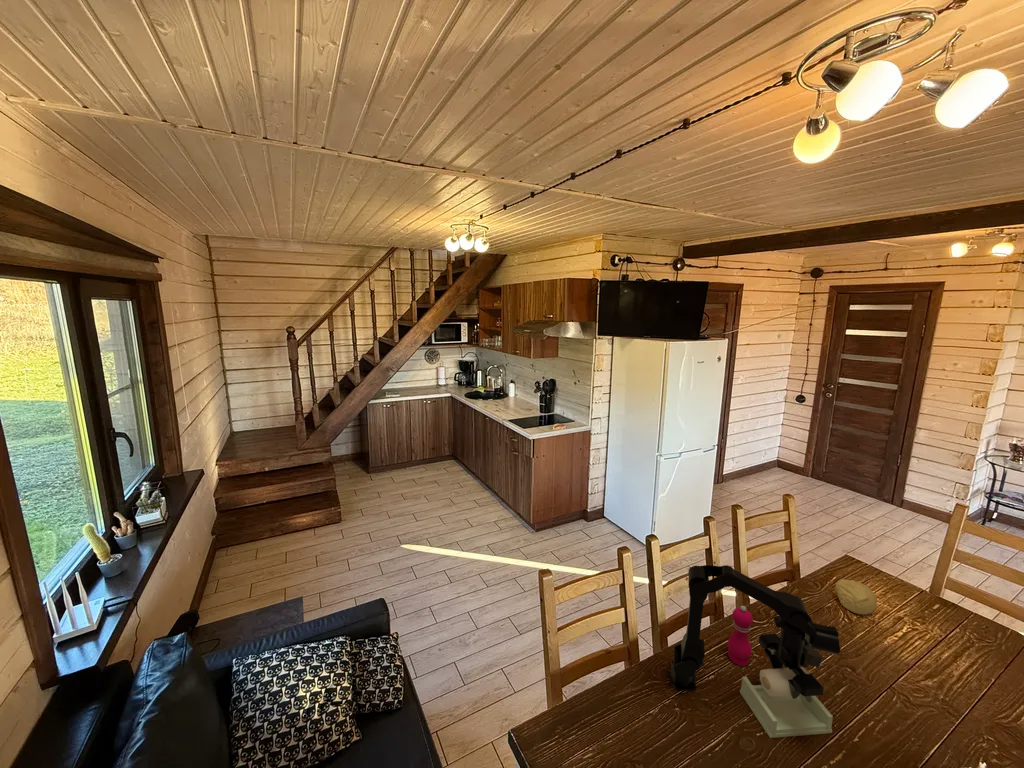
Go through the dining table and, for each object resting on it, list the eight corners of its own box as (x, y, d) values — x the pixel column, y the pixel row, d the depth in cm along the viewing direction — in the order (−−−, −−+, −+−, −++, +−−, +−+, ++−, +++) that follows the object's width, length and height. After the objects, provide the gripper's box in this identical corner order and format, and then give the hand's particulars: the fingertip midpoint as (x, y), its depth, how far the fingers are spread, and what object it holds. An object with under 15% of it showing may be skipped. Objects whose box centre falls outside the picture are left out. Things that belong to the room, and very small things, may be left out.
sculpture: (828, 599, 168) (831, 575, 166) (855, 596, 169) (858, 572, 167) (854, 620, 156) (857, 595, 154) (882, 617, 158) (886, 592, 156)
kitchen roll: (798, 679, 124) (800, 661, 123) (814, 699, 118) (817, 680, 117) (757, 682, 124) (759, 664, 122) (771, 702, 117) (774, 683, 116)
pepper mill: (753, 668, 136) (759, 615, 133) (730, 665, 138) (735, 612, 134) (746, 651, 143) (751, 600, 140) (723, 648, 145) (728, 597, 141)
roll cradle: (770, 737, 115) (771, 721, 114) (739, 691, 128) (741, 676, 127) (831, 732, 116) (834, 716, 115) (795, 687, 129) (797, 672, 128)
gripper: (846, 667, 109) (838, 716, 112) (794, 615, 127) (789, 659, 130) (806, 670, 108) (799, 719, 111) (760, 617, 127) (755, 661, 130)
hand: (785, 687), depth 121 cm, fingers closed on kitchen roll, 6 cm apart
